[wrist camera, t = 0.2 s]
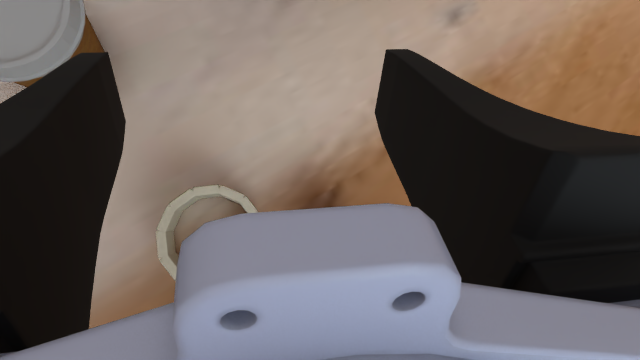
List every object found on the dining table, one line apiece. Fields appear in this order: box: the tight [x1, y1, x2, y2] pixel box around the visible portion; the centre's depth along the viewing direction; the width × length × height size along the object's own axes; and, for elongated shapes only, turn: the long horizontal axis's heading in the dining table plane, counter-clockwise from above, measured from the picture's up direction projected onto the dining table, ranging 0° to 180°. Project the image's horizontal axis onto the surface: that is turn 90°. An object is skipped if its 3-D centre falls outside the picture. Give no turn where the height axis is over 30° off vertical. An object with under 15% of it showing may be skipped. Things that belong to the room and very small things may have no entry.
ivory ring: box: [156, 184, 258, 281], centre depth 40 cm, size 9×9×4 cm
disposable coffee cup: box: [0, 0, 104, 87], centre depth 35 cm, size 10×10×12 cm
